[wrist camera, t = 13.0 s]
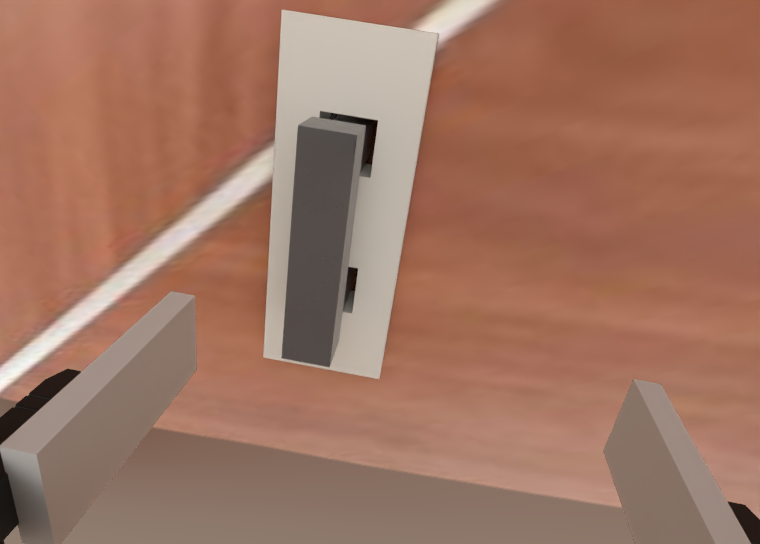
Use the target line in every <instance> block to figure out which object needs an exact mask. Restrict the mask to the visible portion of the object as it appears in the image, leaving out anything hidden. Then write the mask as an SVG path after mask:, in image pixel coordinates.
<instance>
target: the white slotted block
mask: <svg viewBox="0 0 760 544" xmlns="http://www.w3.org/2000/svg"><path fill="white" fill-rule="evenodd" d="M438 37H439V34H438V33H431V32H425V31H418V30H412V29H405V28H399V27H392V26H386V25H380V24H373V23H367V22H360V21H354V20H347V19H341V18H334V17H328V16H321V15H315V14H308V13H302V12H295V11H288V10H282V16H281V35H280V54H279V72H278V91H277V110H276V129H275V148H274V167H273V186H272V205H271V224H270V242H269V261H268V280H267V299H266V318H265V337H264V356H263V357H264V358H269V359H275V360H280V361H285V362H290V363H296V364H301V365H306V366H312V367H317V368H322V369H328V370H333V371H338V372H344V373H349V374H354V375H360V376H365V377H370V378H376V379H379V378H380V373H381V368H382V363H383V358H384V353H385V347H386V341H387V335H388V330H389V324H390V318H391V312H392V306H393V300H394V294H395V289H396V283H397V277H398V271H399V265H400V259H401V253H402V248H403V242H404V236H405V230H406V224H407V218H408V213H409V207H410V201H411V195H412V189H413V183H414V177H415V172H416V166H417V160H418V154H419V148H420V142H421V137H422V131H423V125H424V119H425V113H426V107H427V101H428V96H429V90H430V84H431V78H432V72H433V66H434V61H435V55H436V49H437V43H438ZM331 113H336V114H342V115H349V116H355V117H361V118H367V119H373V120H378V125H377V132H376V140H375V147H374V155H373V162H372V164H366V163H365V164H364V166H363V168H362V169H361V171H360V177H359V185H358V193H357V201H356V209H355V217H354V225H353V233H352V241H351V249H350V257H349V265H348V267H353V268H358V274H357V281H356V289H355V291H353V290H351V291H350V294H349V296H348V299H347V302H346V304H345V307H344V310H343V313H342V321H341V329H340V337H339V342H338V345H337V348H336V351H335V354H334V356H333V359H332V362H331V365H330V367H325V366H320V365H315V364H309V363H304V362H299V361H293V360H288V359H283V358H281V357H282V343H283V329H284V315H285V301H286V287H287V272H288V258H289V244H290V230H291V216H292V202H293V187H294V173H295V159H296V145H297V131H298V125H299V124H301V123H302V122H304V121H306V120H307V119H309V118H311V117H318V118H324V119H330V115H331Z"/></svg>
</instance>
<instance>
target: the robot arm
mask: <svg viewBox="0 0 760 544" xmlns="http://www.w3.org/2000/svg"><path fill="white" fill-rule="evenodd" d="M196 370H197V353H196V308H195V296H194V295H188V294H183V293H178V292H173V291H171V292H170V293H169V294H168V295H166V296H165V297H164V298H163V299H162V300H161V301H160V302H159V303H158V304H156V305H155V306H154V307H153V308H152V309H151V310H150V311H149V312H148V313H146V314H145V315H144V316H143V317H142V318H141V319H140V320H139V321H138V322H136V323H135V324H134V325H133V326H132V327H131V328H130V329H129V330H128V331H126V332H125V333H124V334H123V335H122V336H121V337H120V338H119V339H118V340H116V341H115V342H114V343H113V344H112V345H111V346H110V347H109V348H108V349H106V350H105V351H104V352H103V353H102V354H101V355H100V356H99V357H98V358H96V359H95V360H94V361H93V362H92V363H91V364H90V365H89V366H88V367H86V368H85V369H84V370H83V371H82V372H81V371H76V370H71V369H66V370H64V371H62V372H60V373H58V374H56V375H54V376H52V377H50V378H48V379H46V380H44V381H43V382H42V383H41V384H40V385H38V386H37V387H36V388H35V389H34V390H33V391H31V392H30V393H29V396H25V397H24V398H23V399H22V400H21V401H19V402H18V403H17V404H16V406H15V408H11V409H10V410H9V411H8V412H6V413H5V414H4V415H3V416H2V417H0V544H4V539H5V538H6V537H7V536H8V535H9V533H10V532H11V531H12V530H13V529H14V528H15V527H16V526H17V525H18V528H19V532H20V536H21V540H22V543H25V544H61V543H62V542H63V541H64V540H65V538H66V537H67V536H68V534H69V533H70V532H71V531H72V529H73V528H74V527H75V525H76V524H77V523H78V522H79V520H80V519H81V518H82V516H83V515H84V514H85V513H86V511H87V510H88V509H89V507H90V506H91V505H92V503H93V502H94V501H95V500H96V498H97V497H98V496H99V494H100V493H101V492H102V491H103V489H104V488H105V487H106V486H107V484H108V483H109V482H110V480H111V479H112V478H113V476H114V475H115V474H116V473H117V471H118V470H119V469H120V468H121V466H122V465H123V464H124V462H125V461H126V460H127V459H128V457H129V456H130V455H131V453H132V452H133V451H134V449H135V448H136V447H137V446H138V444H139V443H140V442H141V441H142V439H143V438H144V437H145V435H146V434H147V433H148V432H149V430H150V429H151V428H152V427H153V425H154V424H155V423H156V421H157V420H158V419H159V418H160V416H161V415H162V414H163V412H164V411H165V410H166V409H167V407H168V406H169V405H170V403H171V402H172V401H173V400H174V398H175V397H176V396H177V394H178V393H179V392H180V391H181V389H182V388H183V387H184V385H185V384H186V383H187V382H188V380H189V379H190V378H191V376H192V375H193V374H194V373H195V371H196ZM603 451H604V454H605V457H606V460H607V463H608V466H609V469H610V472H611V475H612V478H613V481H614V484H615V487H616V490H617V493H618V496H619V499H620V502H621V504H622V507H623V510H624V513H625V516H626V519H627V522H628V525H629V528H630V531H631V534H632V537H633V540H634V543H635V544H760V520H759V519H758V518H757V517H756V516H755V515H754V514H753V513H752V512H751V511H750V510H749V509H748V508H747V507H746V506H745V505H742V504H737V503H732V502H727V500H726V498H725V497H724V495H723V493H722V491H721V490H720V488H719V486H718V484H717V483H716V481H715V479H714V477H713V476H712V474H711V472H710V470H709V468H708V467H707V465H706V463H705V461H704V460H703V458H702V456H701V454H700V453H699V451H698V449H697V447H696V445H695V444H694V442H693V440H692V438H691V437H690V435H689V433H688V431H687V430H686V428H685V426H684V424H683V422H682V421H681V419H680V417H679V415H678V414H677V412H676V410H675V408H674V407H673V405H672V403H671V401H670V400H669V398H668V396H667V394H666V392H665V391H664V389H663V387H662V385H661V384H658V383H652V382H647V381H642V380H637V379H633V381H632V384H631V386H630V389H629V391H628V393H627V396H626V398H625V400H624V403H623V405H622V408H621V410H620V412H619V415H618V417H617V419H616V422H615V424H614V426H613V429H612V431H611V434H610V436H609V438H608V441H607V443H606V445H605V448H604V450H603Z"/></svg>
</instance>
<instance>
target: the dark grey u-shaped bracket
mask: <svg viewBox="0 0 760 544" xmlns="http://www.w3.org/2000/svg"><path fill="white" fill-rule="evenodd" d="M374 123H375V120H371V119H365V118H359V117H353V116H347V115H338V116H337V117H336V118H334V119H333V120H330V119H324V118H318V117H311V118H309V119H307V120H306V121H304V122H302V123H301V124H299V125H298V131H297V145H296V159H295V173H294V187H293V202H292V216H291V230H290V244H289V258H288V272H287V287H286V301H285V315H284V329H283V343H282V357H281V358H283V359H288V360H293V361H299V362H304V363H309V364H315V365H320V366H325V367H330V365H331V362H332V359H333V356H334V354H335V351H336V348H337V345H338V342H339V337H340V329H341V321H342V313H343V310H344V307H345V304H346V302H347V299H348V296H349V294H350V291H351V288H352V286H353V283H354V275H355V268H353V267H348V265H349V257H350V249H351V241H352V233H353V225H354V217H355V209H356V201H357V193H358V185H359V177H360V171H361V169H362V168H363V166H364V164H365V163H366V161H367V160H368V158H369V157H370V153H371V146H372V138H373V131H374Z"/></svg>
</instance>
